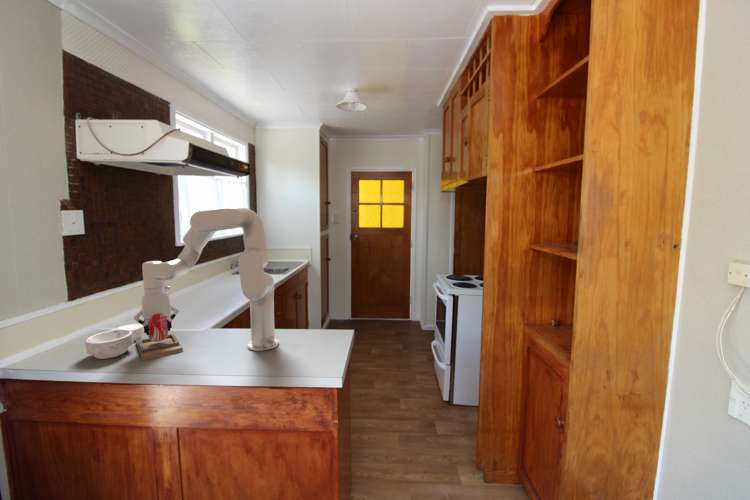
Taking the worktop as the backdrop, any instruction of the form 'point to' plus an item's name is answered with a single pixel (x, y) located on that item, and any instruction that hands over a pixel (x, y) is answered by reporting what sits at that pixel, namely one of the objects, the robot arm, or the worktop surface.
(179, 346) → the tan board
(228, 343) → the worktop surface
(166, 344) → the steel frame
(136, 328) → the ramekin
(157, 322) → the soda can
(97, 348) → the paper bowls
